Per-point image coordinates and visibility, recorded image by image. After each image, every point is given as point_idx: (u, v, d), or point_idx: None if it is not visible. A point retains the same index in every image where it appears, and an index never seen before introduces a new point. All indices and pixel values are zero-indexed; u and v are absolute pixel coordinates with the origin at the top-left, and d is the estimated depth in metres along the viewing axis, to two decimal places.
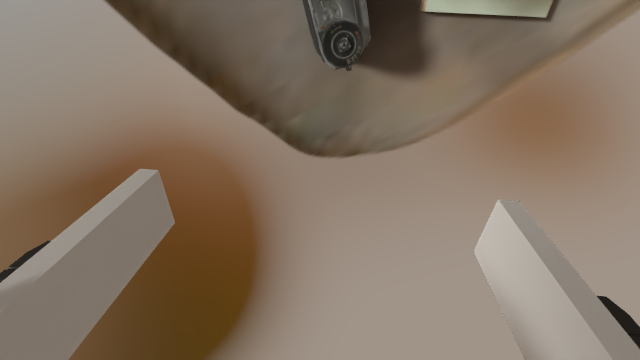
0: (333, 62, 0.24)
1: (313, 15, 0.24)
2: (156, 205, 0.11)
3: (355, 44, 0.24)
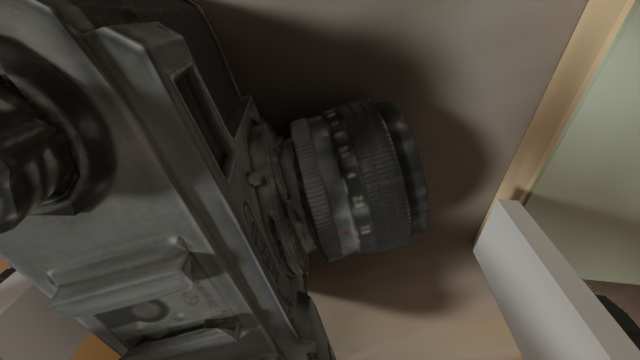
0: None
1: None
2: None
3: None
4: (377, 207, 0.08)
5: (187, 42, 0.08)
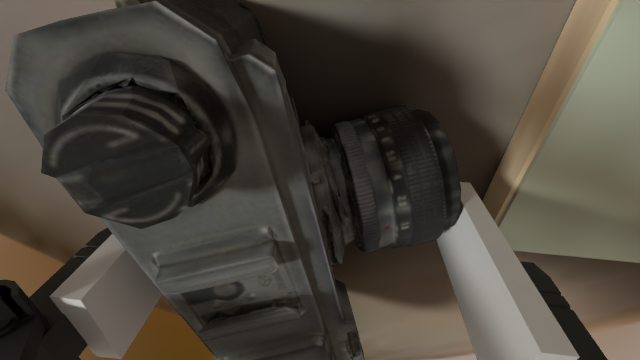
0: None
1: None
2: None
3: None
4: (418, 205, 0.09)
5: None
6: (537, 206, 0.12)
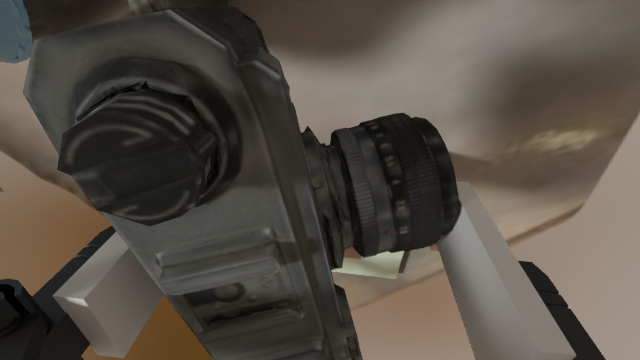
0: None
1: None
2: None
3: None
4: (416, 210, 0.09)
5: None
6: None
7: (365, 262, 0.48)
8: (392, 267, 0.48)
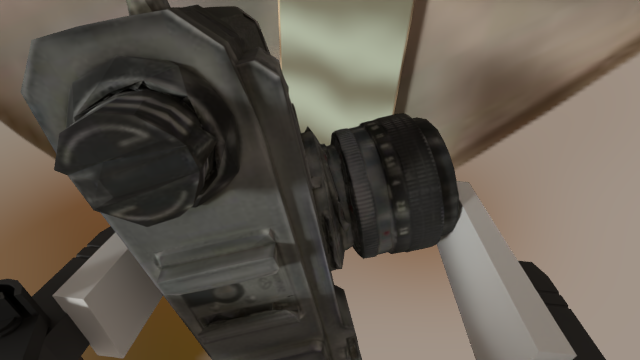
0: None
1: None
2: None
3: None
4: (416, 211, 0.09)
5: None
6: None
7: None
8: None
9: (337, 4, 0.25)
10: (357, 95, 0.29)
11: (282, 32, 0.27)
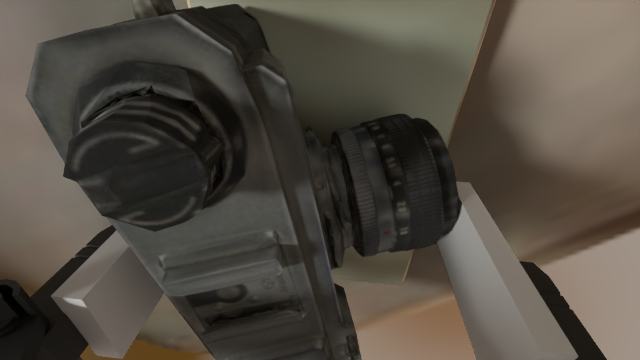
0: None
1: None
2: None
3: None
4: (416, 211, 0.09)
5: None
6: None
7: None
8: (393, 257, 0.19)
9: None
10: None
11: None
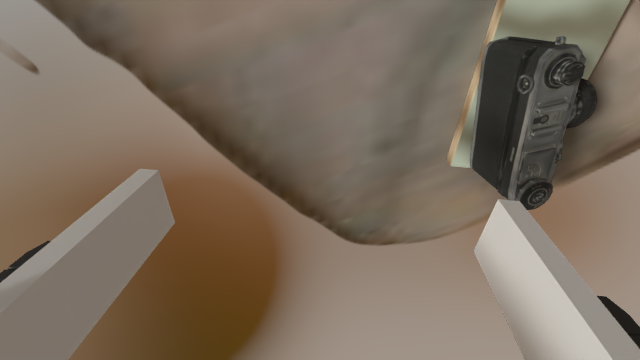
0: None
1: (517, 173, 0.30)
2: (156, 205, 0.11)
3: (546, 196, 0.30)
4: (584, 104, 0.29)
5: None
6: (465, 148, 0.38)
7: None
8: None
9: (547, 30, 0.30)
10: None
11: None
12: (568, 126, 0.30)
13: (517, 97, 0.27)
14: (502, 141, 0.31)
